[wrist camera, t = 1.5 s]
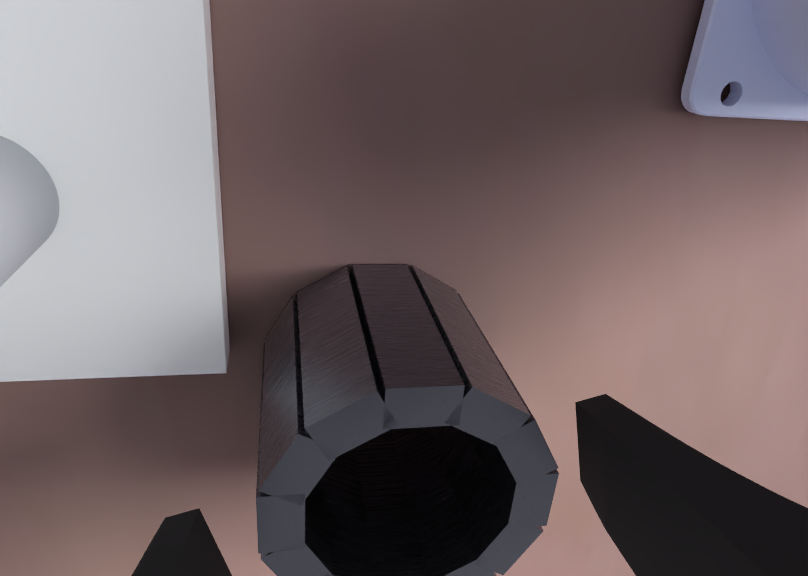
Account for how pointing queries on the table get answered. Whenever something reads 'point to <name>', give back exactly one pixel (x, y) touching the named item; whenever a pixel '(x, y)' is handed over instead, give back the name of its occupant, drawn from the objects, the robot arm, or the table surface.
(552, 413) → the table surface
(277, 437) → the gray grooved hollow cylinder
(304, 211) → the table surface
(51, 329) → the white square peg stand
